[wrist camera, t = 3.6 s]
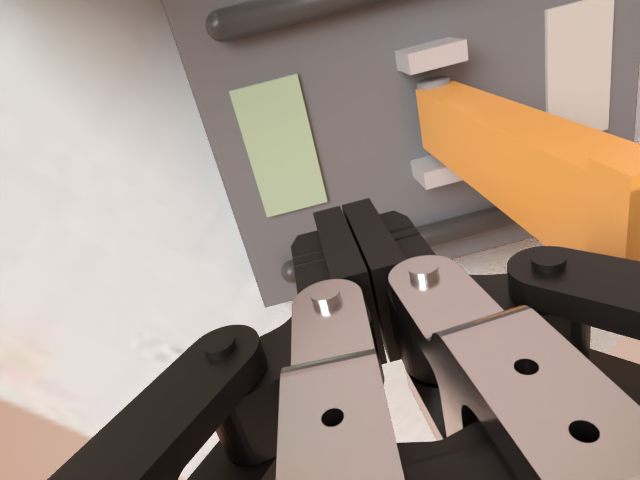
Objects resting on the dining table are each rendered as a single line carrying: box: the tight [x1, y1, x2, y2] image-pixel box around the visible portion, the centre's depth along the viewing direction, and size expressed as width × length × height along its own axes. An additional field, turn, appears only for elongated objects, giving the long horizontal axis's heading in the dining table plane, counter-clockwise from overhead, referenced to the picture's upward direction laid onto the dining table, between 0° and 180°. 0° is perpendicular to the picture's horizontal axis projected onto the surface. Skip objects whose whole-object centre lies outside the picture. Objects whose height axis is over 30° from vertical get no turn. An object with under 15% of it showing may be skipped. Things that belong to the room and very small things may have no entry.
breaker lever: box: [415, 75, 640, 261], centre depth 15 cm, size 2×3×14 cm, turn 13°
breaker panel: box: [161, 0, 640, 307], centre depth 22 cm, size 20×16×4 cm
